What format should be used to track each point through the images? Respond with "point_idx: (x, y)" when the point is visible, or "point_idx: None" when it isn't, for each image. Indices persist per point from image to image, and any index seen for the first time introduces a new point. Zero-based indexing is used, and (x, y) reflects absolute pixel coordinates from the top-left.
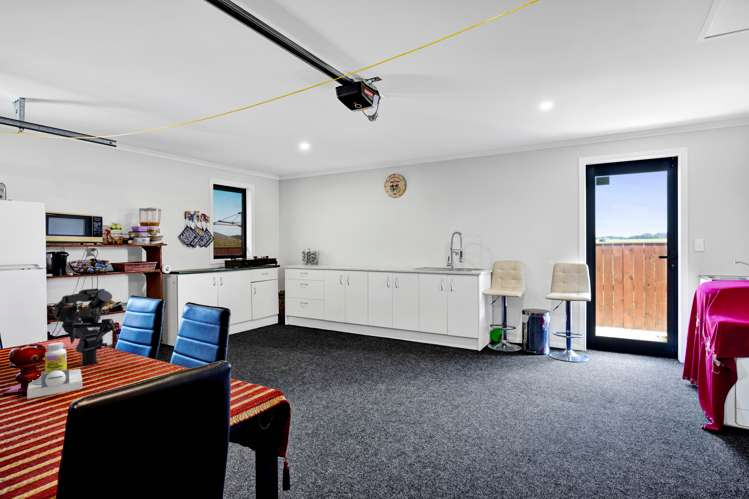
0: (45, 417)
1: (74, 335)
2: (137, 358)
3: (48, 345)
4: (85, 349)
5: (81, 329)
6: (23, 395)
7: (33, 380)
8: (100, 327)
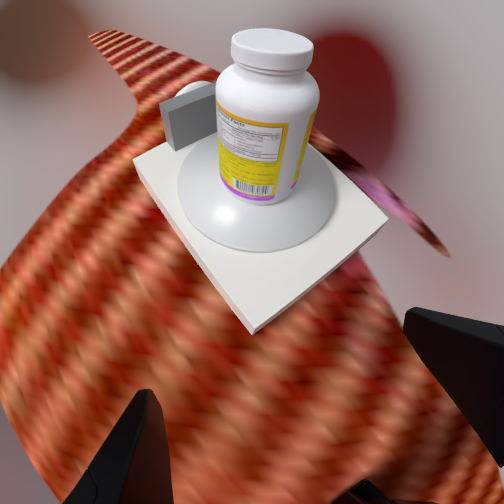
0: (143, 72)
1: (481, 397)
2: None
3: (293, 34)
4: None
5: None
6: None
7: (310, 149)
8: None
